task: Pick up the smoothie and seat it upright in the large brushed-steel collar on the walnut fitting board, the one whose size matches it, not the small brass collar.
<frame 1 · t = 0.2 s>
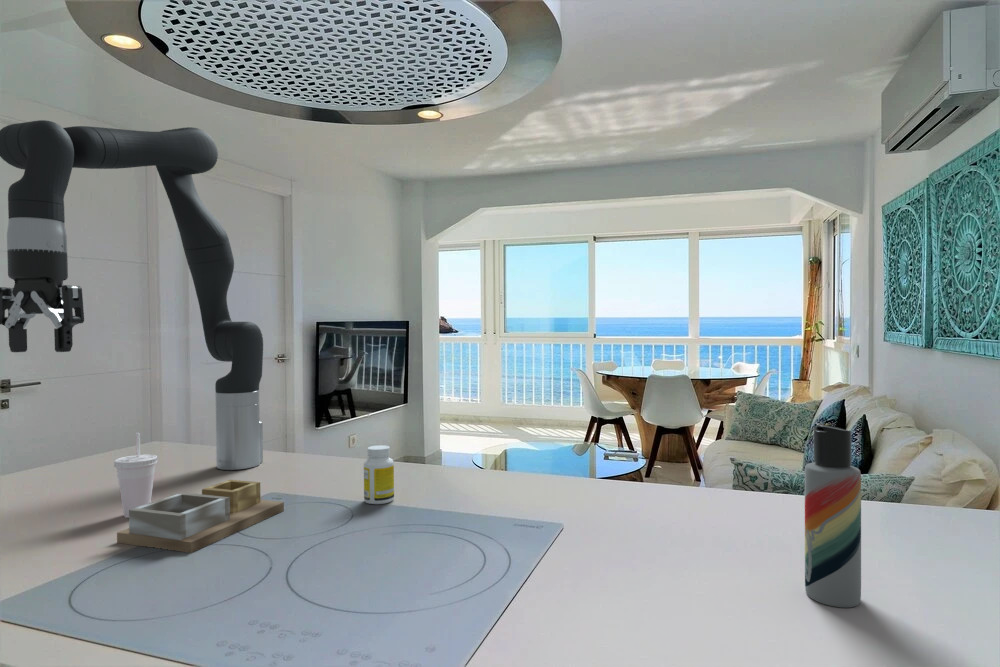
hand: (40, 352, 94), 28 cm above the worktop, fingers open, 8 cm apart
lotion bottle: (832, 598, 69), on the worktop
supplement bottle: (379, 501, 108), on the worktop
smoothie: (136, 515, 101), on the worktop
fitting board: (206, 525, 95), on the worktop
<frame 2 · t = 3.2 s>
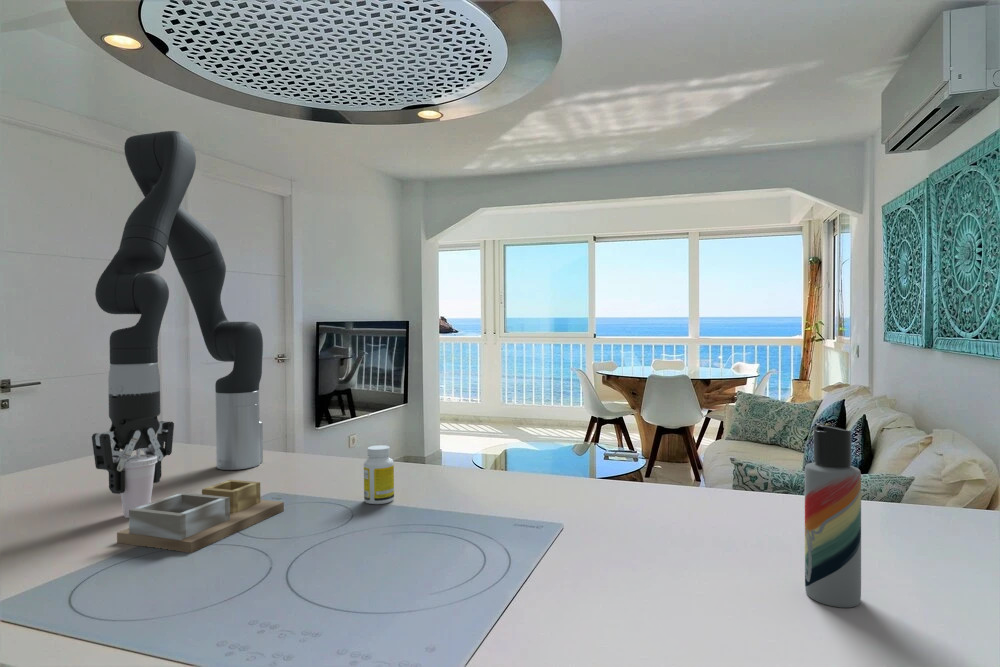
hand: (136, 487, 101), 5 cm above the worktop, fingers closed on smoothie, 6 cm apart
smoothie: (136, 515, 101), on the worktop, touching gripper
everything else where it was.
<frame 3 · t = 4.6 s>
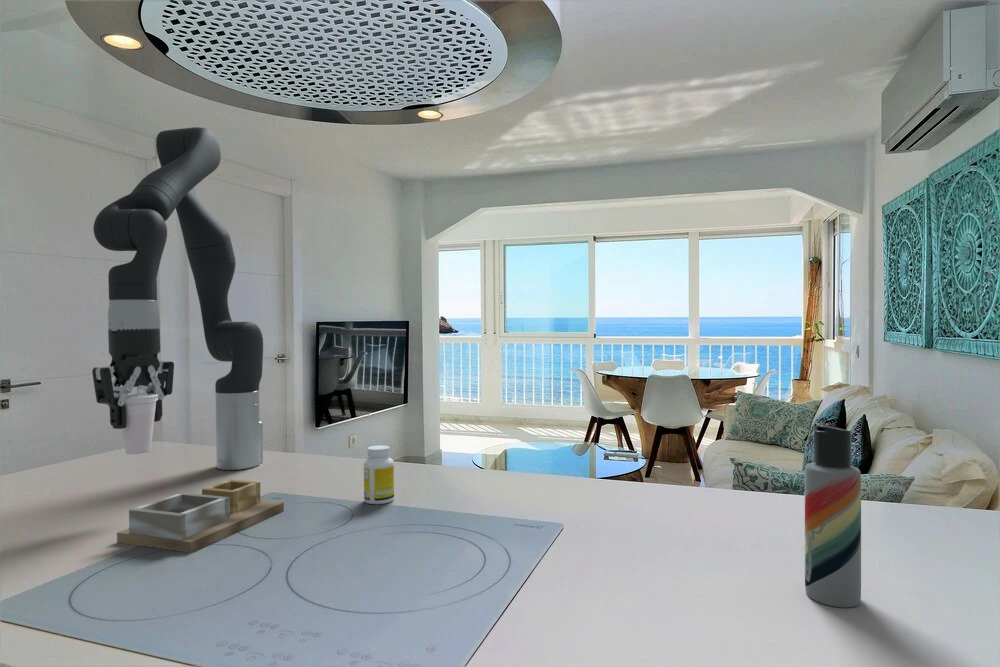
hand: (137, 424, 101), 15 cm above the worktop, fingers closed on smoothie, 6 cm apart
smoothie: (138, 452, 101), point 11 cm above the worktop, touching gripper
everything else where it was.
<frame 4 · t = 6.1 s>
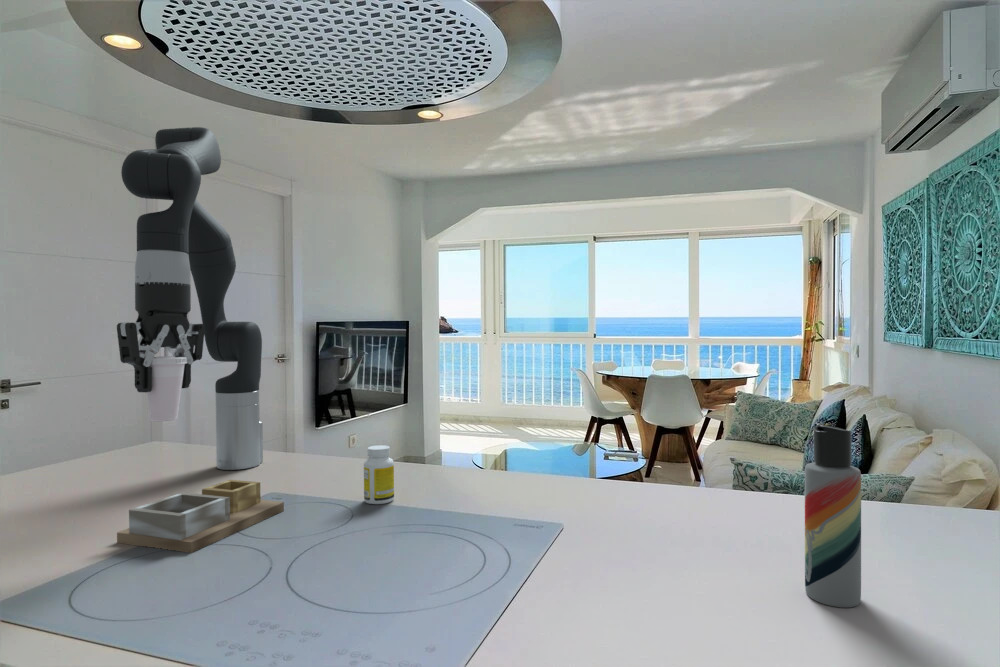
hand: (163, 389, 92), 22 cm above the worktop, fingers closed on smoothie, 6 cm apart
smoothie: (163, 421, 92), point 17 cm above the worktop, touching gripper
everything else where it was.
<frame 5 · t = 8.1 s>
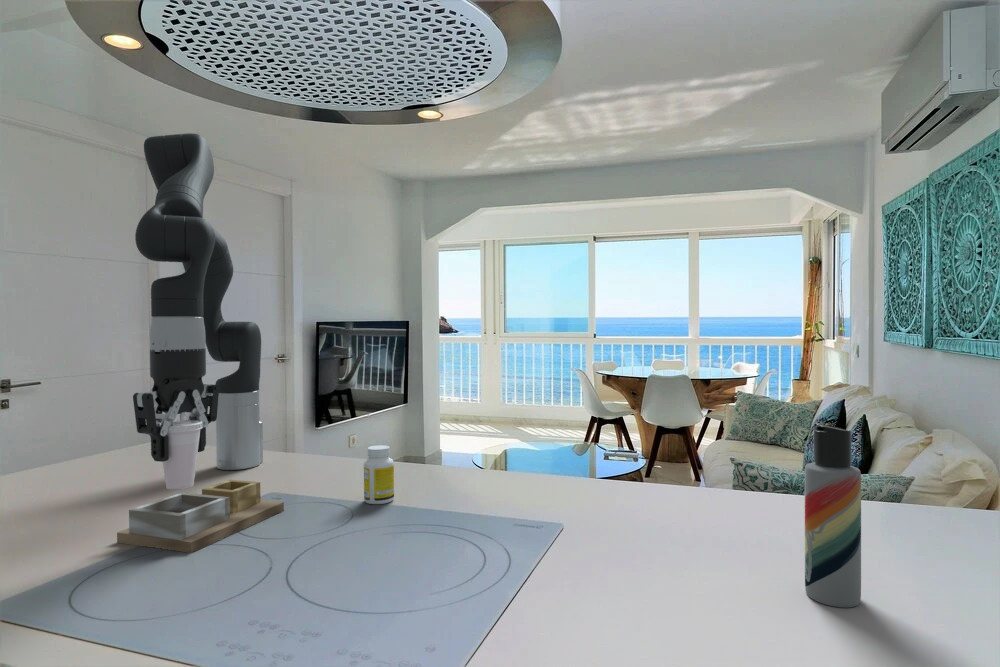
hand: (179, 455, 91), 12 cm above the worktop, fingers closed on smoothie, 6 cm apart
smoothie: (180, 487, 91), point 7 cm above the worktop, touching gripper
everything else where it was.
when the fingers open (8 cm above the worktop, at t = 9.5 s): smoothie drops 2 cm, resting on fitting board.
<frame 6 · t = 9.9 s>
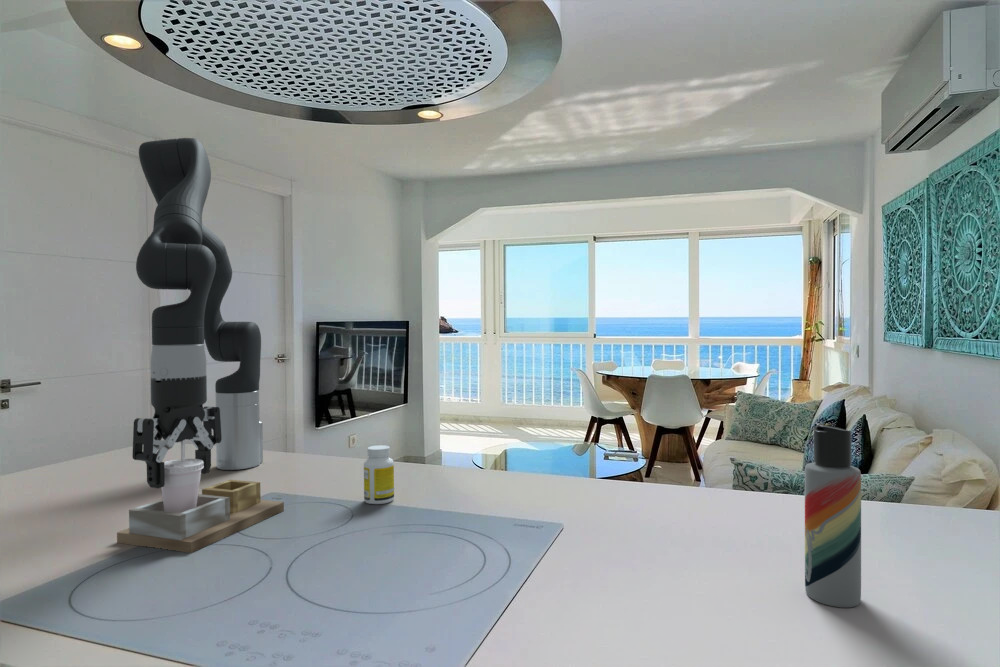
hand: (180, 480, 91), 9 cm above the worktop, fingers open, 8 cm apart
smoothie: (180, 527, 91), point 1 cm above the worktop, touching fitting board
everything else where it was.
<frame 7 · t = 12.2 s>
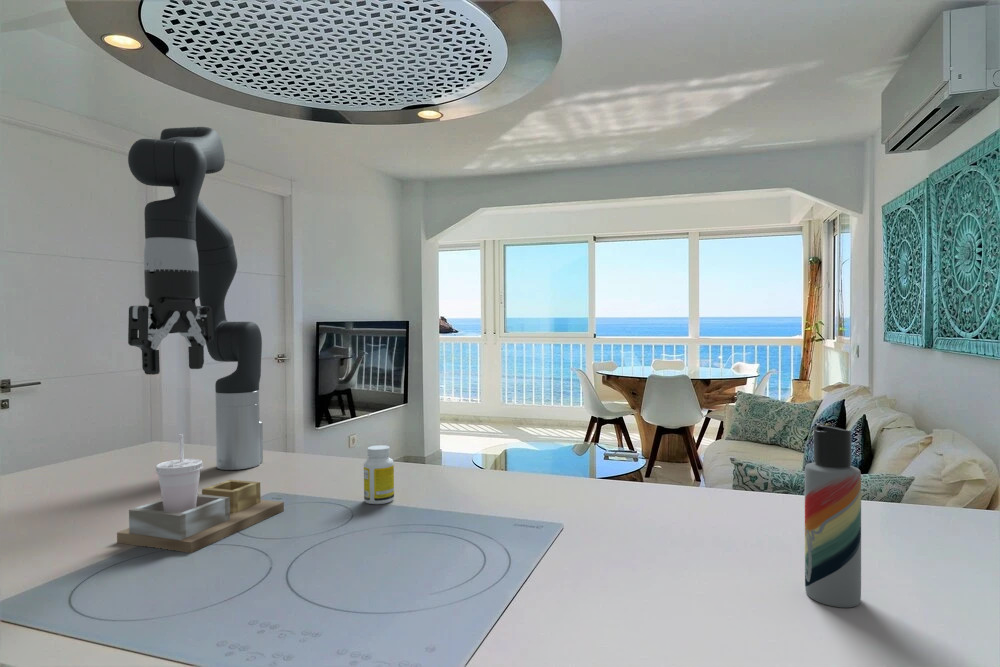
hand: (174, 371, 94), 25 cm above the worktop, fingers open, 8 cm apart
nothing on the worktop moved.
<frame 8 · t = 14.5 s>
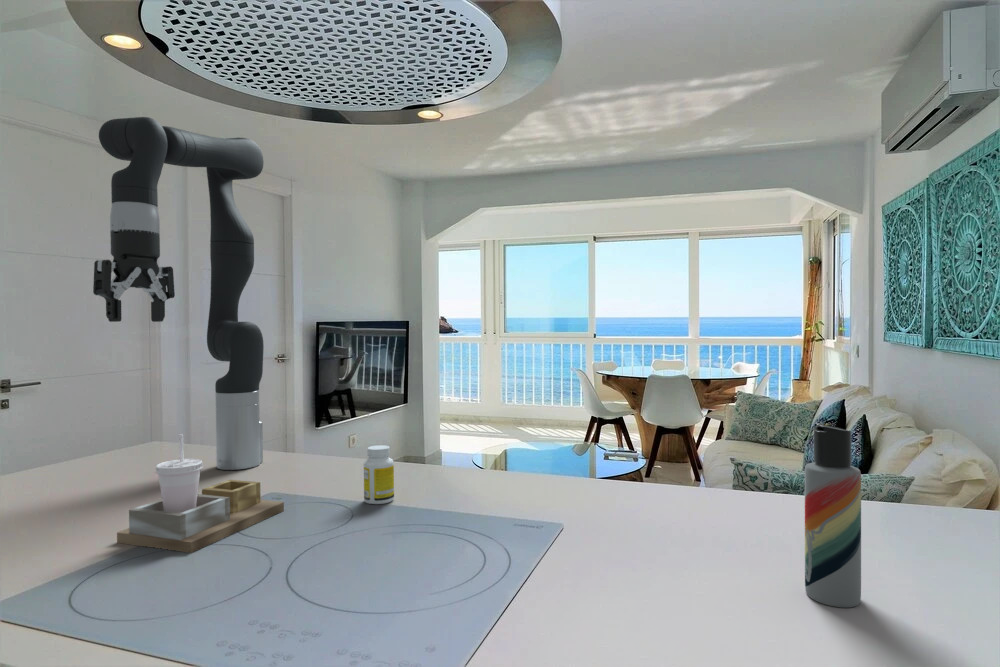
hand: (136, 321, 106), 33 cm above the worktop, fingers open, 8 cm apart
nothing on the worktop moved.
at the end: smoothie 0.1 cm from the target spot on the fitting board, point 1.3 cm above the fitting board's base; smoothie tilted 0°; the gripper is holding nothing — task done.
